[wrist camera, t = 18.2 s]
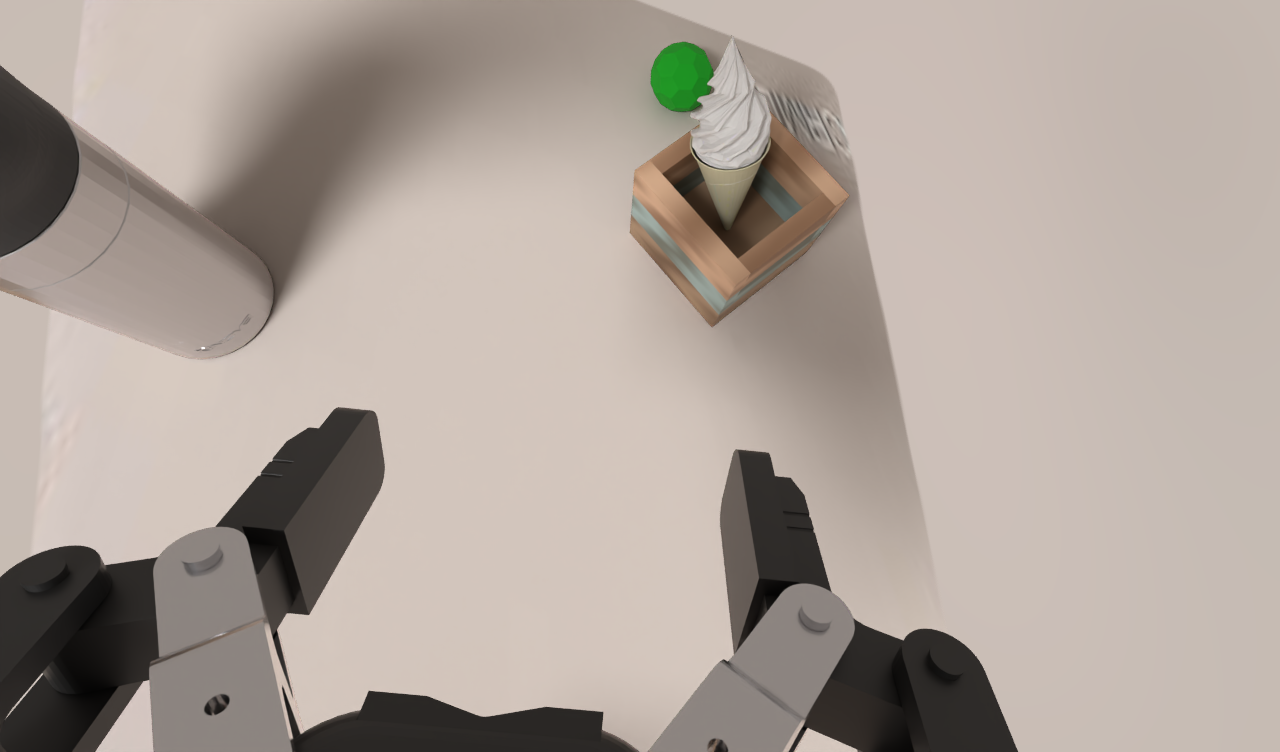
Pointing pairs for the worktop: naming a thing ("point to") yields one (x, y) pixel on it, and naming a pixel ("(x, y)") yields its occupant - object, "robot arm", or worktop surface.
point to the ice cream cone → (731, 134)
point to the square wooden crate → (760, 235)
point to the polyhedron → (681, 76)
